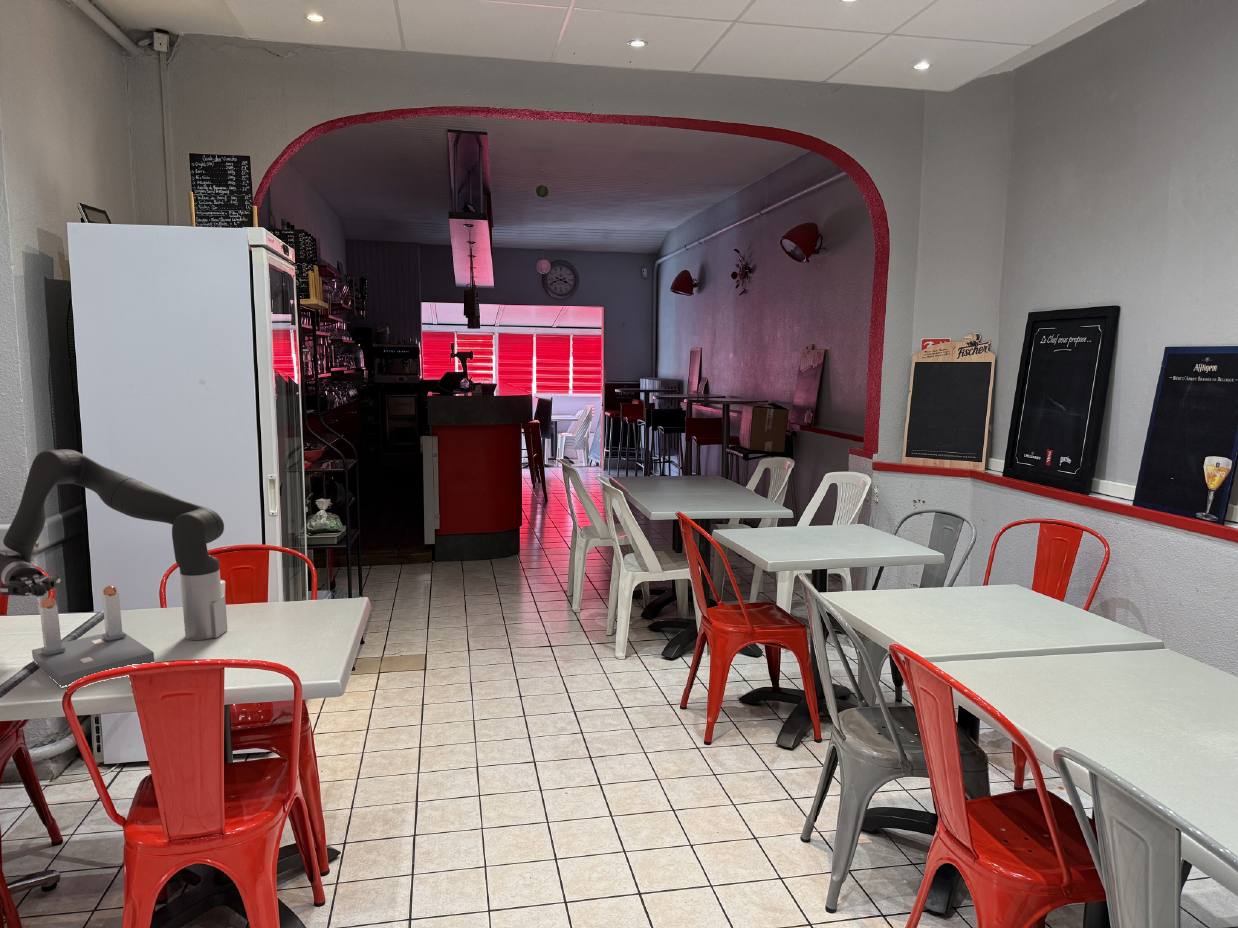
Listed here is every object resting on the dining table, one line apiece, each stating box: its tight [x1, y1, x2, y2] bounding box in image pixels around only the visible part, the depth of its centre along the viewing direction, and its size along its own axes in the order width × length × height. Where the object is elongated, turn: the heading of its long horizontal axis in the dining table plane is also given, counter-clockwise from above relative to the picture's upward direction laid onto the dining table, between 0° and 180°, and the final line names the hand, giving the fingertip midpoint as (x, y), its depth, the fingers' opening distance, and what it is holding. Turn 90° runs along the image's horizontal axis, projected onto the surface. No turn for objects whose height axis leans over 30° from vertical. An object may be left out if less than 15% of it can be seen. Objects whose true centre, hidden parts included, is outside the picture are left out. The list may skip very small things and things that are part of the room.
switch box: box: [31, 632, 155, 687], centre depth 196 cm, size 24×19×3 cm
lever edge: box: [39, 597, 65, 656], centre depth 194 cm, size 4×4×13 cm
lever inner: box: [101, 585, 127, 641], centre depth 204 cm, size 4×4×13 cm
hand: (40, 592), depth 197 cm, fingers closed
